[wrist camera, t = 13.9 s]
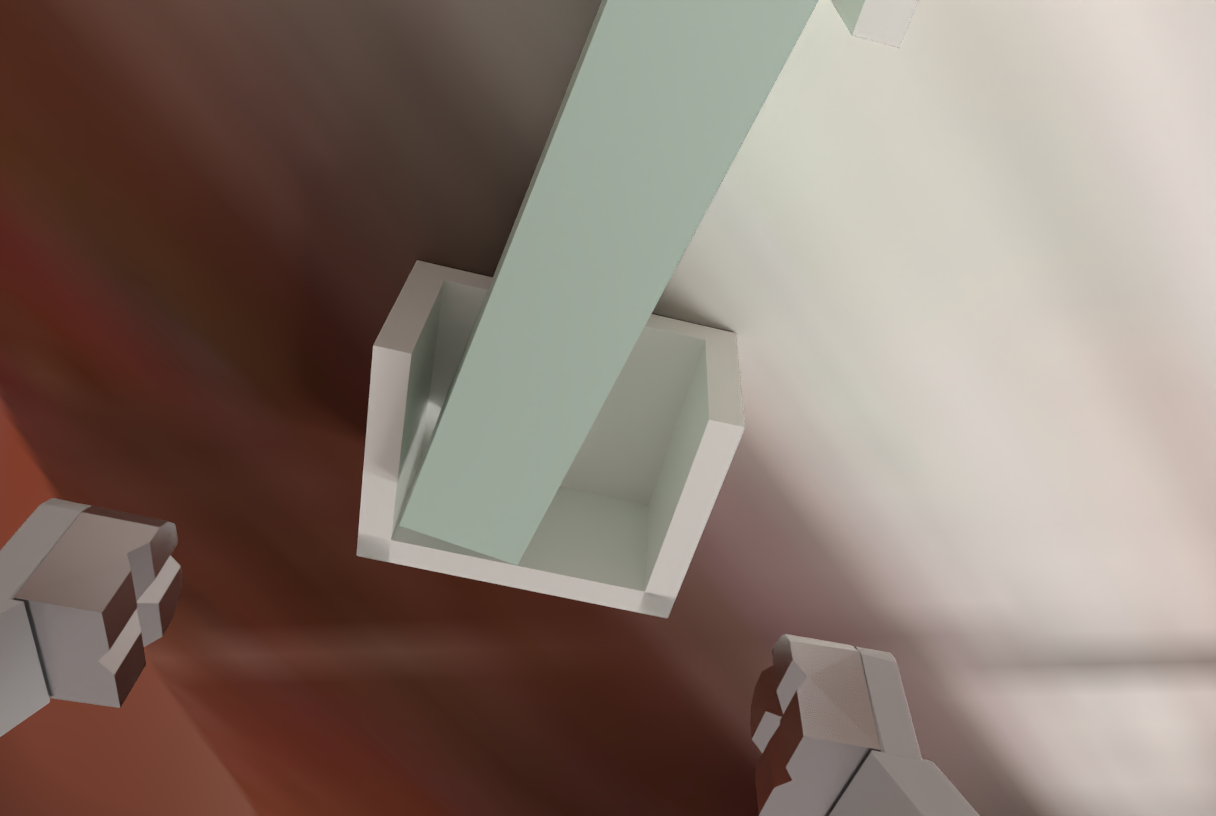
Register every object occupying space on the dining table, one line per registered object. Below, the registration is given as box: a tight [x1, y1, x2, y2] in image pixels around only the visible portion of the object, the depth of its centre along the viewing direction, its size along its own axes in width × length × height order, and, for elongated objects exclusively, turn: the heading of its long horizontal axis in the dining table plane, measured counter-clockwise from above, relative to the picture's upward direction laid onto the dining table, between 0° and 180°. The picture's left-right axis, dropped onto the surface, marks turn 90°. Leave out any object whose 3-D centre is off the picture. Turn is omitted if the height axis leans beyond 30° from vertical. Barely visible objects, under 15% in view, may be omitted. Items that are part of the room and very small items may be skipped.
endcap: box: [357, 260, 745, 618], centre depth 28 cm, size 8×10×5 cm
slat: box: [399, 0, 818, 565], centre depth 21 cm, size 21×4×6 cm, turn 157°
